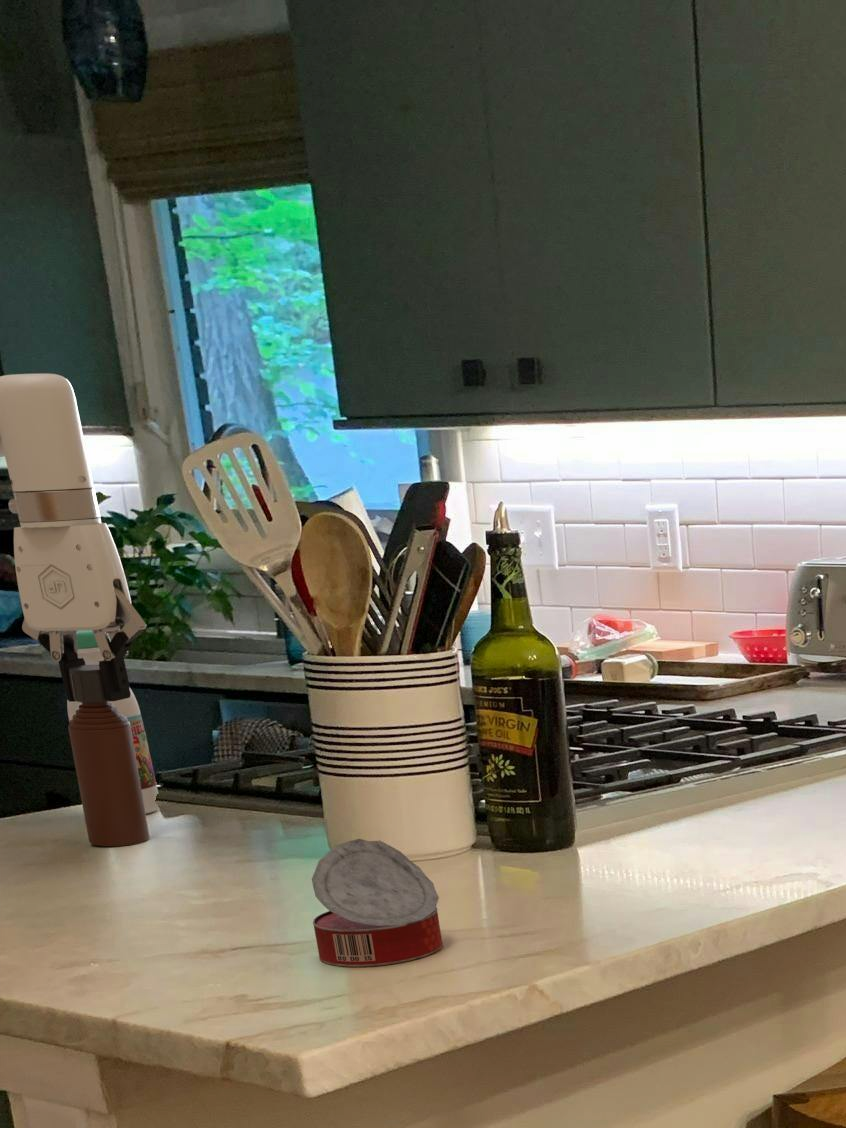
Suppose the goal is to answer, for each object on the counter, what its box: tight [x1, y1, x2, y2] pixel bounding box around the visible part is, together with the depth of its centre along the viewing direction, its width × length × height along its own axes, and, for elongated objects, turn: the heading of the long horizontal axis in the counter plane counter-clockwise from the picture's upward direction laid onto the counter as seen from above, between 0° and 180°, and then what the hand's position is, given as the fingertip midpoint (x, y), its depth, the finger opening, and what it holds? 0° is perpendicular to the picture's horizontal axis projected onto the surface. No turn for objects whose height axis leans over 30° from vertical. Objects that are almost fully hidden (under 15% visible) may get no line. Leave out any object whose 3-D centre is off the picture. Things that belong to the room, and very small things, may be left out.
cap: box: [69, 665, 108, 703], centre depth 199 cm, size 4×4×3 cm
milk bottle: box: [66, 630, 160, 814], centre depth 218 cm, size 8×8×20 cm
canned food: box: [311, 838, 444, 968], centre depth 157 cm, size 11×10×10 cm
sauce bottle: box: [67, 701, 150, 847], centre depth 202 cm, size 6×6×17 cm
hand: (99, 697), depth 200 cm, fingers closed on cap, 4 cm apart
